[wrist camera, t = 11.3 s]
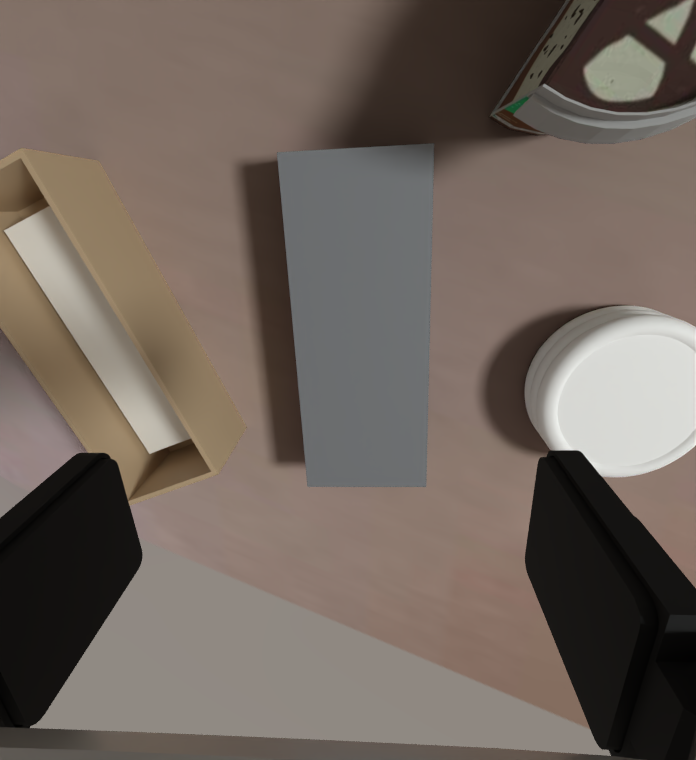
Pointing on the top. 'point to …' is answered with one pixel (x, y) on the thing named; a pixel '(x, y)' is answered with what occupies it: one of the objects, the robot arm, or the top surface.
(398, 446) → the lid
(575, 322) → the white short cylinder
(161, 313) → the tan open box
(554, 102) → the food container
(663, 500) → the top surface
